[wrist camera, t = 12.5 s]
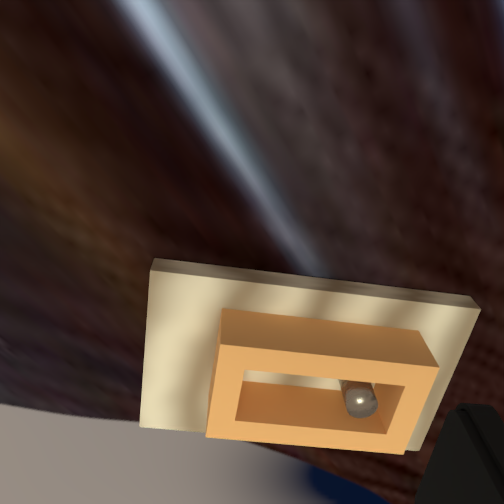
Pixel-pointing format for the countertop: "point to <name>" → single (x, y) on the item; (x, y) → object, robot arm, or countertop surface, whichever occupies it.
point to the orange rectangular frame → (316, 365)
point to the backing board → (281, 303)
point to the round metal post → (359, 398)
